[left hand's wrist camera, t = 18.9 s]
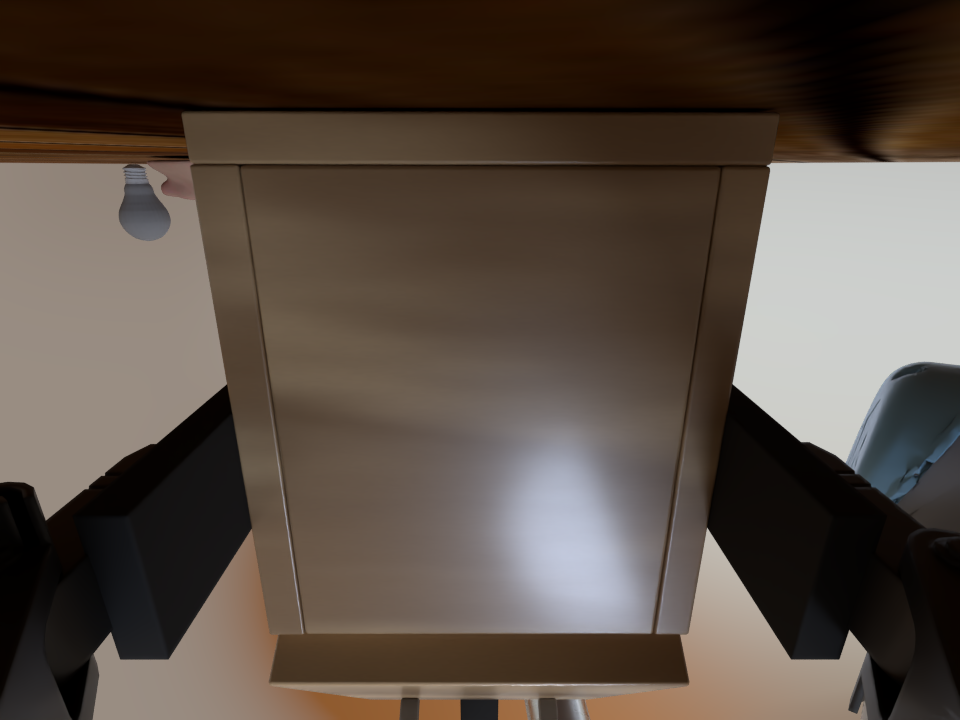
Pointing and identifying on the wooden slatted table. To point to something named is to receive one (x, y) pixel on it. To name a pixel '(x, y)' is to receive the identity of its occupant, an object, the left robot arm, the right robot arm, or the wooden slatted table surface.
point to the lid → (479, 666)
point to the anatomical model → (175, 177)
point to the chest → (479, 357)
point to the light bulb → (142, 207)
